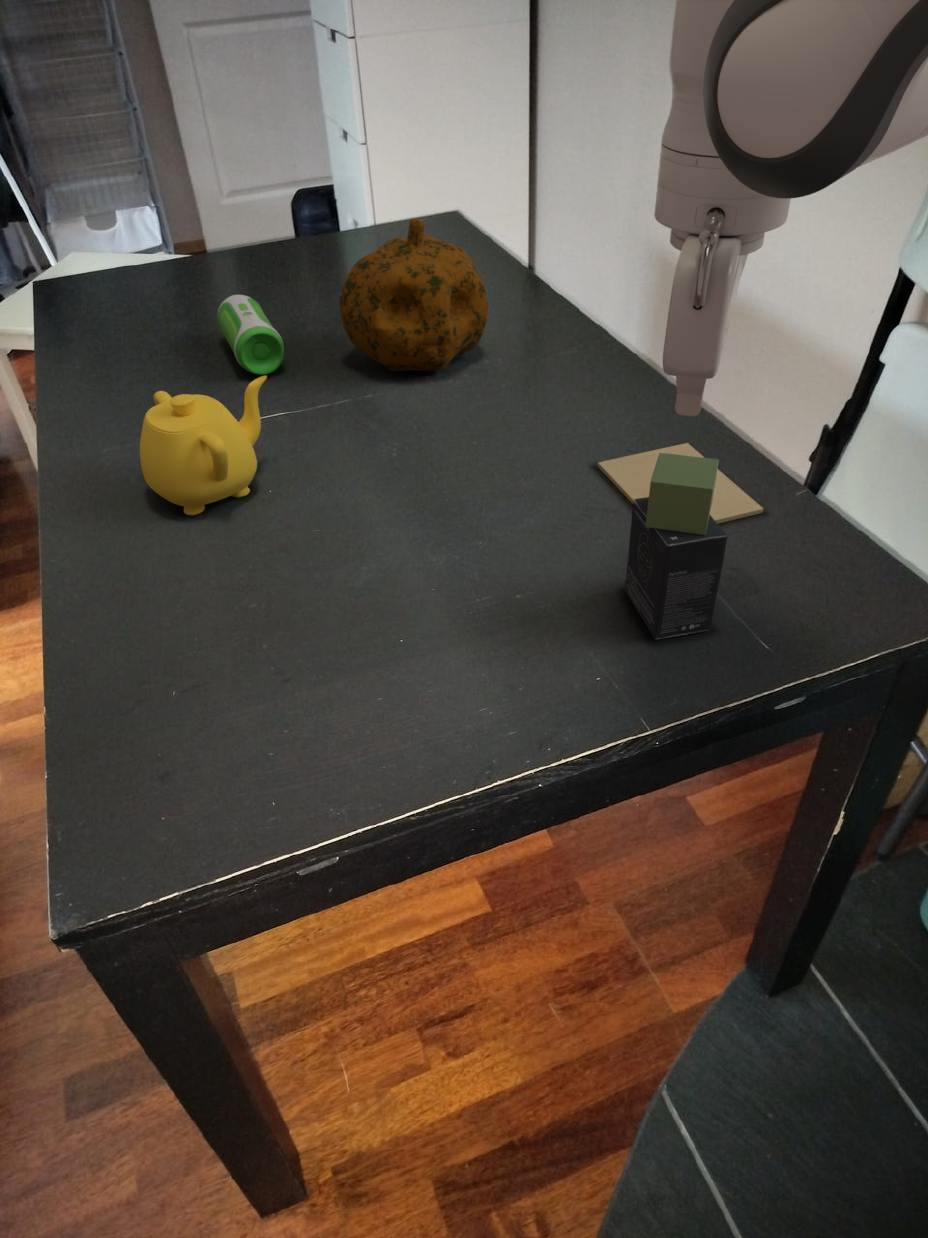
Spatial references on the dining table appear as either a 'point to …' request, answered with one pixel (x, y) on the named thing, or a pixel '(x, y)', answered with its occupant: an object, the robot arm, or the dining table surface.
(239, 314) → the speaker
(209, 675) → the dining table surface
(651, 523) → the green block
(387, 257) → the decorative pumpkin
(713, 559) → the box
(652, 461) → the mat
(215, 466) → the teapot
